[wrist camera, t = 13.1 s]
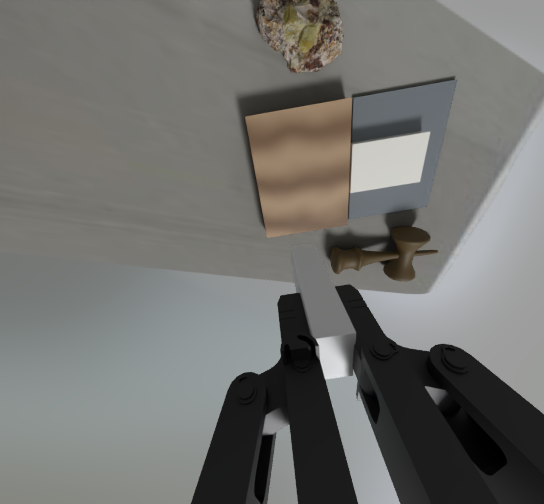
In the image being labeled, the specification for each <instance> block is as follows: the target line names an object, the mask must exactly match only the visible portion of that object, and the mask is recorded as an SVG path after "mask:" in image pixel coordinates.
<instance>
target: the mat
mask: <svg viewBox="0 0 544 504" xmlns="http://www.w3.org/2000/svg"><path fill="white" fill-rule="evenodd" d="M456 83H457V80H451V81H445V82H440V83H434V84H428V85H423V86H417V87H412V88H406V89H400V90H395V91H389V92H384V93H378V94H372V95H367V96H361V97H355V98H353V100H352V126H351V143H354V142H359V141H365V140H371V139H377V138H383V137H389V136H395V135H401V134H407V133H413V132H419V131H430V136H429V141H428V146H427V151H426V156H425V160H424V165H423V170H422V175H421V179H420V182H416V183H410V184H404V185H398V186H392V187H385V188H379V189H373V190H367V191H361V192H354V193H350V192H349V206H348V219H353V218H360V217H366V216H372V215H378V214H384V213H391V212H397V211H403V210H409V209H415V208H422V207H427V205H428V201H429V197H430V192H431V188H432V184H433V180H434V176H435V171H436V167H437V163H438V159H439V154H440V150H441V146H442V142H443V138H444V133H445V129H446V125H447V121H448V117H449V112H450V108H451V104H452V100H453V95H454V91H455V87H456Z"/></svg>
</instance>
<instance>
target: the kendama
mask: <svg viewBox="0 0 544 504" xmlns="http://www.w3.org/2000/svg"><path fill="white" fill-rule="evenodd" d="M391 236H392V237H393V239H394V241H395V243H396V251H395V252H377V251H365V250H361V249H359V248H358V247H353V248H352V249H350V250H341V249H339V248H338V247H333V248H332V250H331V254H330V261H331V266H332V269H333V271H334V272H335V273H336V274H339V273H340V272H341V271H342V270H344V269H349V268H353V269H355V270H357V271H359V270H360V269H361V267H363V266H365V265H368V264H372V263H376V262H380V261H385V260H390V259H391V260H390V261H389V262H388V263H387V264H385V266H384V268H383V271H384V273H385V274H386V275H387V276H388V277H389V278H391V279H393V280H397V281H410V280H412V279H414V278H415V271H414V268H413V266H412V260H413V256H420V255H429V254H435V253H438V251H437V250H422V251H417V249H419V248H420V247H422V246H423V245H424V244H426V243H427V242H429V241H430V235H429V234H428V233H427V232H426V231H424V230H422V229H419V228H416V227H410V226H401V227H396V228H394V229H392V230H391Z"/></svg>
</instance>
